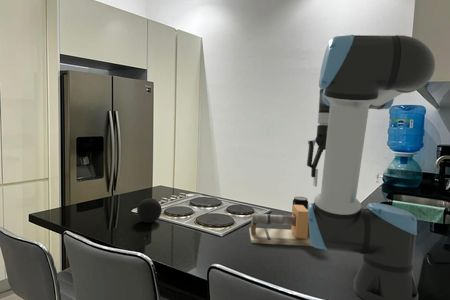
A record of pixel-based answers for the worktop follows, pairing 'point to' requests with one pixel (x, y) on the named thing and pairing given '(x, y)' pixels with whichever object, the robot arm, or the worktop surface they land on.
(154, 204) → the speaker
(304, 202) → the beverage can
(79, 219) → the worktop surface
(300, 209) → the collar
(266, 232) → the pipe board
